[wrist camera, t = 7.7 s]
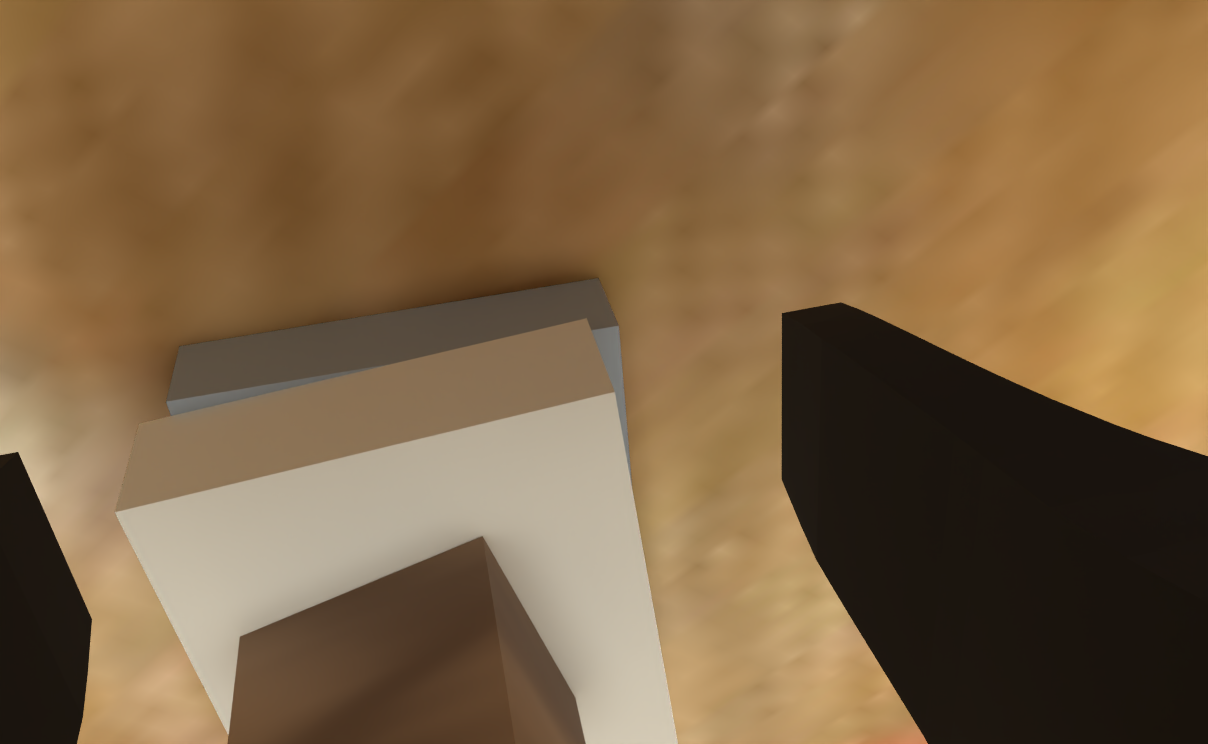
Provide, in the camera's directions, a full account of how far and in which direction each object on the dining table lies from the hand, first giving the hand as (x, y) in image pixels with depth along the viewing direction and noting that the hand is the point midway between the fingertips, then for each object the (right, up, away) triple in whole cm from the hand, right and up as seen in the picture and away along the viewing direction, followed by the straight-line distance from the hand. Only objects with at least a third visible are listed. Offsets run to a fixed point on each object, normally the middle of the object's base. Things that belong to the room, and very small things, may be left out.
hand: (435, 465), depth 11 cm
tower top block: (-2, -3, +12) cm, 12 cm away
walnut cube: (-2, -5, +10) cm, 11 cm away
